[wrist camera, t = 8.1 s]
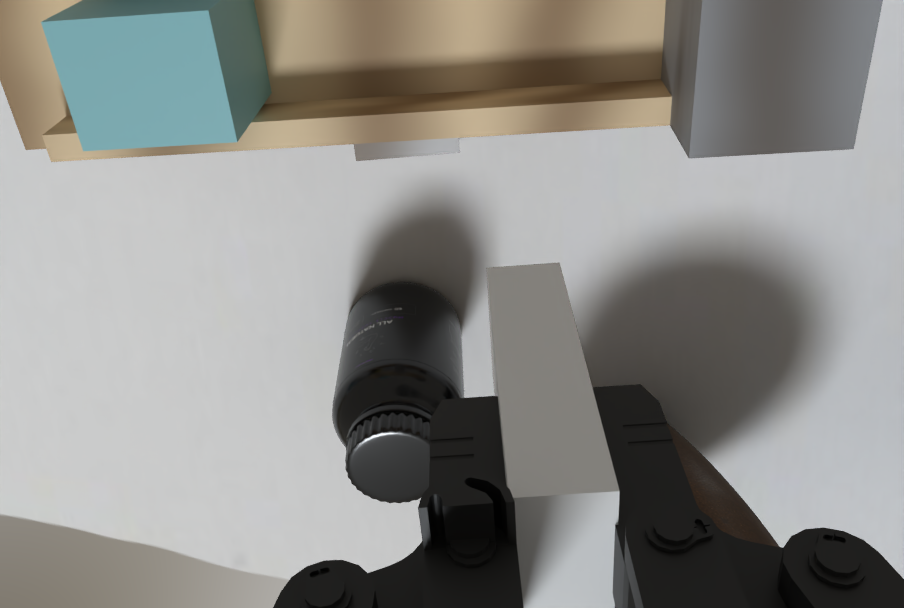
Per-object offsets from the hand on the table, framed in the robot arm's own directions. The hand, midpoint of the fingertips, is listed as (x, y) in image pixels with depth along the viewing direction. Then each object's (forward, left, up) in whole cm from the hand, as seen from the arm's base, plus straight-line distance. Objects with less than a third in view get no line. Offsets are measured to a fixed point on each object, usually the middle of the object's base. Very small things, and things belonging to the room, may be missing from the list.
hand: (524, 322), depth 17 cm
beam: (+3, -3, -17) cm, 18 cm away
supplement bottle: (+5, +17, -27) cm, 32 cm away
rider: (+10, -3, -15) cm, 19 cm away
